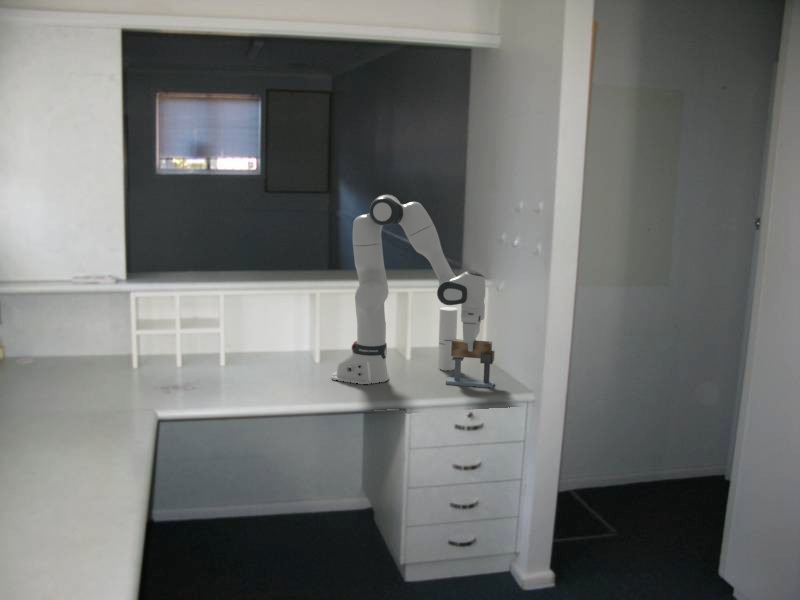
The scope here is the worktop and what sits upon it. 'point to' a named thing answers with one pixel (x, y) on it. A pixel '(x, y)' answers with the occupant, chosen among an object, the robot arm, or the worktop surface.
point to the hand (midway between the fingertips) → (471, 349)
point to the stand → (486, 382)
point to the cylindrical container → (447, 337)
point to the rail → (462, 351)
